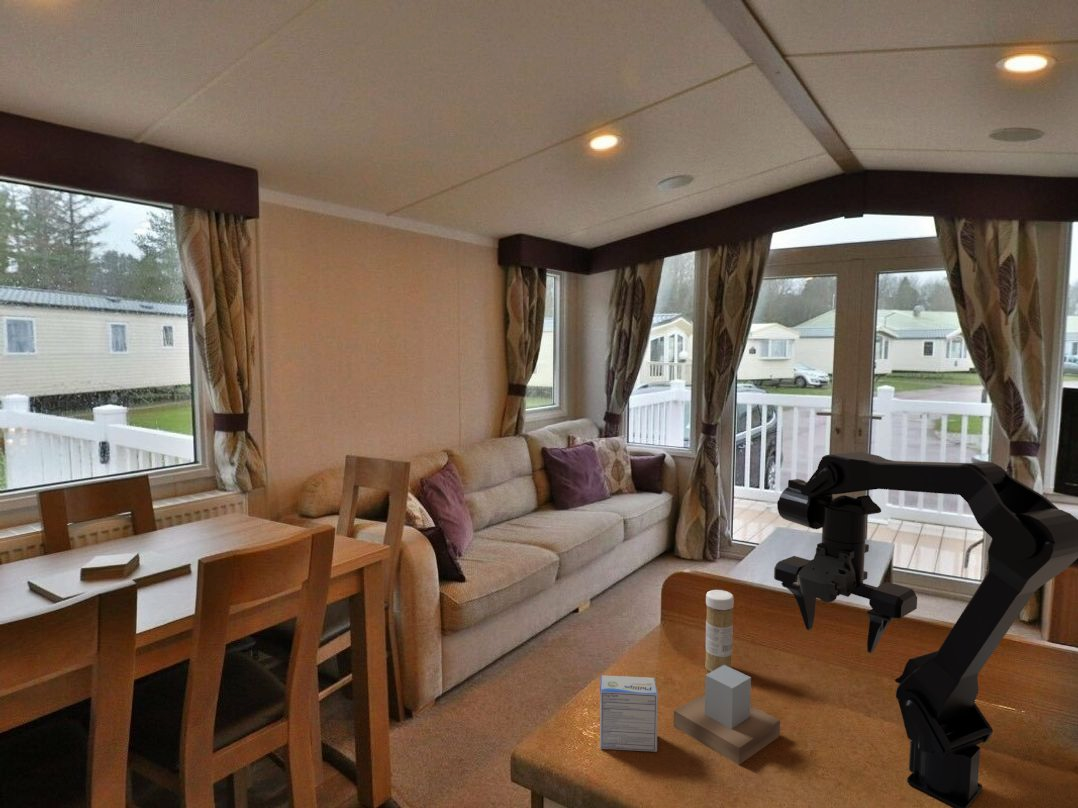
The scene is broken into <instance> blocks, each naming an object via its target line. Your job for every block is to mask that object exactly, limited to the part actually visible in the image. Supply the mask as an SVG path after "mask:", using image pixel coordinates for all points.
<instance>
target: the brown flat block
mask: <svg viewBox="0 0 1078 808" xmlns="http://www.w3.org/2000/svg"><path fill="white" fill-rule="evenodd" d="M673 727H674V728H675V729H677V730H678V731H680V732H682V733H684V734H686V735H687V736H689V737H690V738H692V739H694V740H695V741H697V742H699V743H701V744H703V745H704V746H706V747H707V748H709V749H711V750H712V751H714V752H716V753H717V754H719V755H721V756H723V758H725V759H727V760H729V761H731V762H733V763H734V764H736V765H738V766H739V765H742V763H745V762H746V761H747V760H748V759H749V758H751V757H752V756H754V755H756V754H757V753H758V752H760V751H762V750H763V749H764V748H765V747H767V746H769V744H771V743H773V742H774V741H775V740H777V739H778V738H779V737H780V736H781V735H780V733H781V720H780V719H778V718H776V717H775V716H773V715H771V714H769V713H767V712H765V711H763V710H760V709H759V708H757V707H755V706H753V705H751V704H750V717H749V718H748V719H746V720H745V721H743V722H742V723H740V724H739V725H737V726H736V727H734V728H733V729H730V728H728V727H727V726H725V725H723V724H721V723H719V722H717V721H716V720H714V719H712V718H710V717H708V716H707V715H705V693H703V694H701V695H699V696H698V697H695V698H694V699H693V700H690V701H688V702H687V703H684V704H683V705H682V706H679V707H678V708H676V709H674V710H673Z"/></svg>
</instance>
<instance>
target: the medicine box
mask: <svg viewBox="0 0 1078 808" xmlns="http://www.w3.org/2000/svg"><path fill="white" fill-rule="evenodd" d="M656 681H657V680H656V678H654V677H643V676H626V675H624V676H623V675H605V674H604V675H601V676H600V684H599V685H600V687H599V692H600V693H599V749H601V750H615V751H619V750H620V751H636V752H637V751H639V752H653V753H658V716H659V715H658V713H659V711H658V709H659V693H658V687H657V683H656Z"/></svg>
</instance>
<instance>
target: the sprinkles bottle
mask: <svg viewBox="0 0 1078 808" xmlns="http://www.w3.org/2000/svg"><path fill="white" fill-rule="evenodd" d="M734 600H735V598H734V595H733V594H732V593H731V592H729V591H726V590H723V589H712V590H709V591H707V592H706V594H705V604H706V620H705V662H704V666H705V669H706V671H708V672H709V673H710V672H712V671H714V670H716V669H717V668H719V667H721V666H723V665H726V666H728V667H730V668H732V653H733V631H734V628H733V626H734V624H733V610H734V606H735V605H734V604H735V603H734V602H735V601H734ZM732 669H733V668H732Z"/></svg>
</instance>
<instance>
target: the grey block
mask: <svg viewBox="0 0 1078 808" xmlns="http://www.w3.org/2000/svg"><path fill="white" fill-rule="evenodd" d="M704 680H705V682H704V686H705V687H704V694H705V715H707V716H708V717H710V718H712V719H714V720H716V721H717V722H719V723H721V724H723V725H725V726H727V727H728V728H730V729H733V728H734V727H736V726H737V725H739V724H740V723H742V722H743V721H745V720H746V719H748V718H749V717H750V705H751V692H752V691H751V689H752V688H751V687H752V677H751V676H749V675H746V674H745V673H743V672H740V671H739V670H736V669H734V668H730V667H728V666H726V665H723V666H721V667H719V668H717V669H716V670H714V671H712V672H709V673H707V674H705V679H704Z"/></svg>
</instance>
